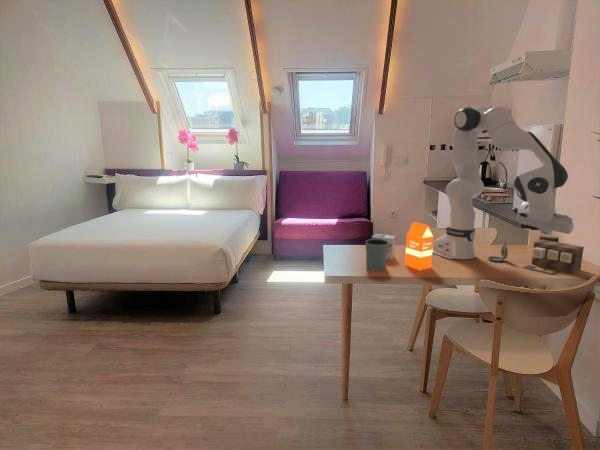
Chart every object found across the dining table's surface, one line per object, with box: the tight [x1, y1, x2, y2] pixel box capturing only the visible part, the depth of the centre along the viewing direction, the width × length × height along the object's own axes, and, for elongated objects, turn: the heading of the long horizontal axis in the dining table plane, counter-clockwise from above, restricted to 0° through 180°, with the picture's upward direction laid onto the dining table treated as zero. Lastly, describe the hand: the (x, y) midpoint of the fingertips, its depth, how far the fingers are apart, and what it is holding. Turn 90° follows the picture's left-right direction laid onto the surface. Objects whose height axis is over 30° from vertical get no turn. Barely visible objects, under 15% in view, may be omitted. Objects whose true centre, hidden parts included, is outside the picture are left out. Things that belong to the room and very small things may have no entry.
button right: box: [560, 251, 574, 263], centre depth 179 cm, size 4×7×4 cm, turn 128°
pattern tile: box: [522, 264, 558, 276], centre depth 181 cm, size 12×5×1 cm, turn 38°
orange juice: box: [404, 221, 434, 271], centre depth 184 cm, size 8×9×20 cm
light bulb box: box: [371, 233, 396, 261], centre depth 200 cm, size 11×7×11 cm, turn 68°
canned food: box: [538, 233, 560, 242], centre depth 199 cm, size 8×8×11 cm
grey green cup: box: [365, 238, 388, 271], centre depth 184 cm, size 10×10×12 cm
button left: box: [531, 246, 548, 259], centre depth 186 cm, size 4×7×4 cm, turn 128°
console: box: [531, 239, 585, 274], centre depth 185 cm, size 17×8×10 cm, turn 38°
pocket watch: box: [487, 240, 508, 263], centre depth 194 cm, size 8×8×10 cm
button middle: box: [547, 249, 560, 260], centre depth 183 cm, size 4×7×4 cm, turn 128°
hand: (545, 232), depth 171 cm, fingers closed
